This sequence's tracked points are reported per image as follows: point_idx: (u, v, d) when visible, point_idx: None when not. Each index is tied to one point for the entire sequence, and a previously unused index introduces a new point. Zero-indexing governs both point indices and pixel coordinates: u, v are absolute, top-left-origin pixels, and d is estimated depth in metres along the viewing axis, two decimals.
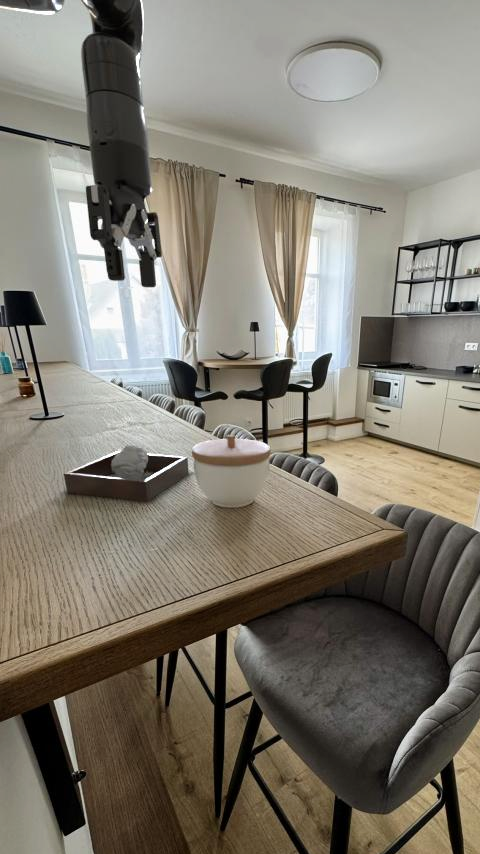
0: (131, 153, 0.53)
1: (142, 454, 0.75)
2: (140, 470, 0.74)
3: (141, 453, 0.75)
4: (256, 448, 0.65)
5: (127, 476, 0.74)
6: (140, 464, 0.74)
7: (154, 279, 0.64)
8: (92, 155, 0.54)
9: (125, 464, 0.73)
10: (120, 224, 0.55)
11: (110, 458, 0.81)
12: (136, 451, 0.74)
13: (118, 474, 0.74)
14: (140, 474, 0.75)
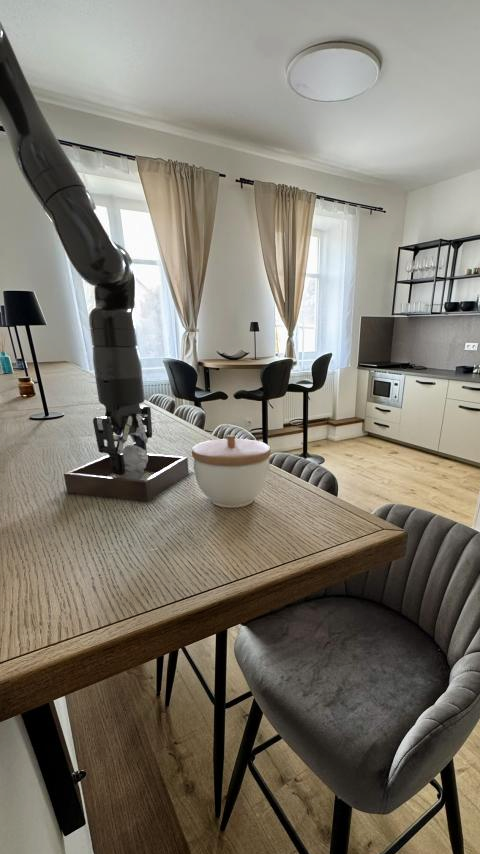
0: (128, 385, 0.68)
1: (142, 454, 0.75)
2: (140, 470, 0.74)
3: (141, 453, 0.75)
4: (256, 448, 0.65)
5: (127, 476, 0.74)
6: (140, 464, 0.74)
7: None
8: (97, 385, 0.68)
9: (125, 464, 0.73)
10: (120, 436, 0.70)
11: None
12: (136, 451, 0.74)
13: None
14: (140, 474, 0.75)
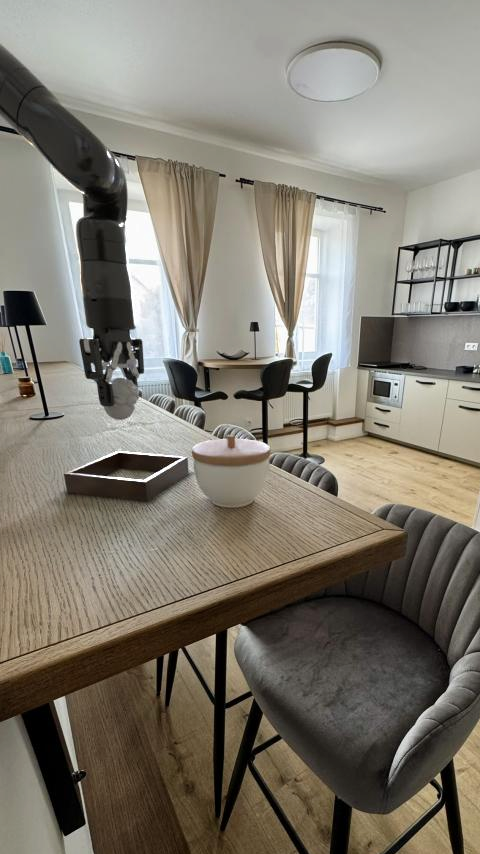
0: (117, 305, 0.63)
1: (133, 387, 0.71)
2: (130, 404, 0.70)
3: (132, 386, 0.70)
4: (256, 448, 0.65)
5: (116, 409, 0.69)
6: (130, 397, 0.69)
7: None
8: (85, 306, 0.64)
9: (114, 396, 0.68)
10: (109, 363, 0.65)
11: (110, 458, 0.81)
12: (126, 383, 0.70)
13: (106, 407, 0.69)
14: (130, 409, 0.71)
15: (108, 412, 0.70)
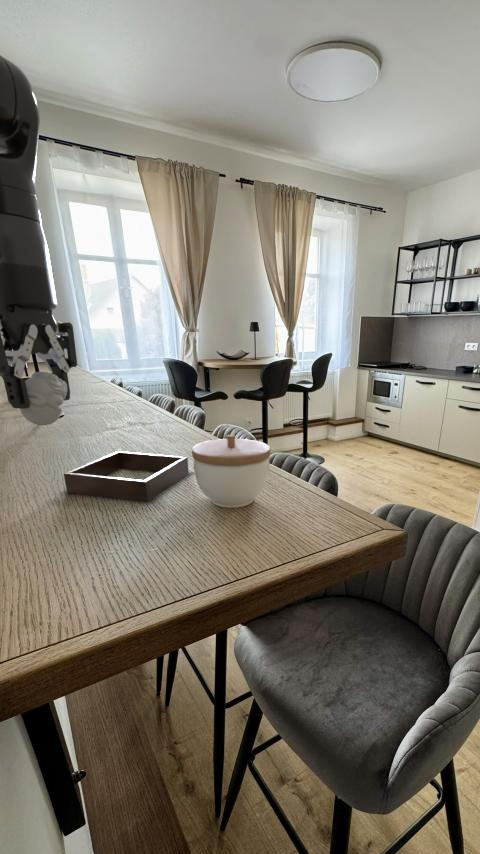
0: (24, 275, 0.48)
1: (58, 384, 0.55)
2: (53, 405, 0.54)
3: (56, 382, 0.55)
4: (256, 448, 0.65)
5: (34, 412, 0.54)
6: (53, 396, 0.54)
7: (67, 392, 0.59)
8: None
9: (30, 394, 0.53)
10: (19, 351, 0.50)
11: (110, 458, 0.81)
12: (48, 379, 0.54)
13: (22, 410, 0.54)
14: (55, 411, 0.55)
15: (25, 416, 0.54)
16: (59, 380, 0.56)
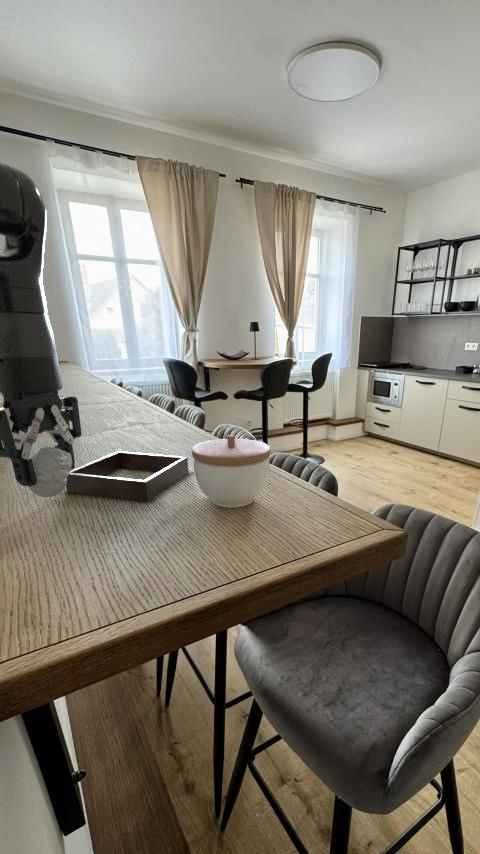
0: (32, 365, 0.50)
1: (63, 458, 0.58)
2: (59, 480, 0.57)
3: (61, 457, 0.57)
4: (256, 448, 0.65)
5: (41, 488, 0.56)
6: (58, 472, 0.56)
7: (72, 462, 0.61)
8: None
9: (37, 472, 0.55)
10: (26, 435, 0.52)
11: (110, 458, 0.81)
12: (54, 455, 0.57)
13: None
14: (60, 485, 0.57)
15: (32, 490, 0.57)
16: (64, 453, 0.59)
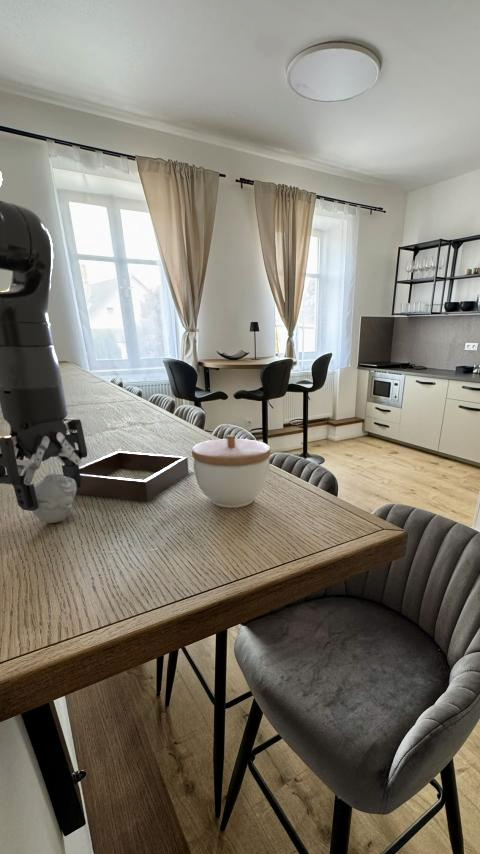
0: (38, 396, 0.52)
1: (68, 485, 0.59)
2: (64, 506, 0.58)
3: (66, 484, 0.59)
4: (256, 448, 0.65)
5: (46, 515, 0.57)
6: (63, 499, 0.58)
7: (78, 482, 0.63)
8: None
9: (43, 500, 0.57)
10: (30, 461, 0.53)
11: (110, 458, 0.81)
12: (59, 482, 0.58)
13: (35, 512, 0.58)
14: (65, 511, 0.59)
15: (38, 517, 0.58)
16: (69, 480, 0.60)
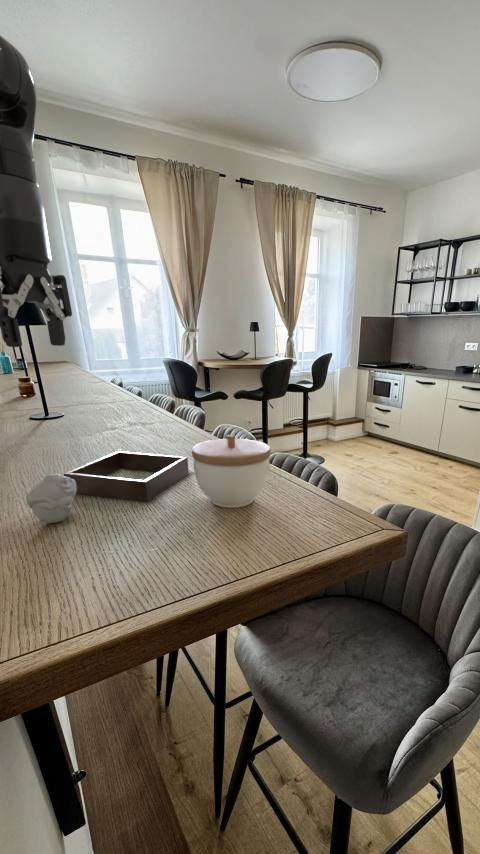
0: (22, 229, 0.55)
1: (68, 485, 0.59)
2: (64, 506, 0.58)
3: (66, 484, 0.59)
4: (256, 448, 0.65)
5: (46, 515, 0.57)
6: (63, 499, 0.58)
7: (62, 338, 0.66)
8: None
9: (43, 500, 0.57)
10: (14, 295, 0.57)
11: (110, 458, 0.81)
12: (59, 482, 0.58)
13: (35, 512, 0.58)
14: (65, 511, 0.59)
15: (38, 517, 0.58)
16: (69, 480, 0.60)
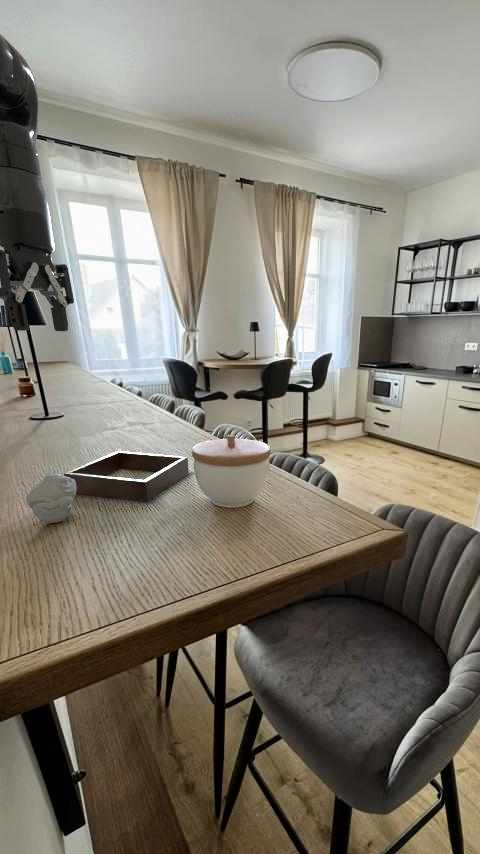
0: (28, 219, 0.59)
1: (68, 485, 0.59)
2: (64, 506, 0.58)
3: (66, 484, 0.59)
4: (256, 448, 0.65)
5: (46, 515, 0.57)
6: (63, 499, 0.58)
7: (65, 324, 0.70)
8: None
9: (43, 500, 0.57)
10: (21, 281, 0.61)
11: (110, 458, 0.81)
12: (59, 482, 0.58)
13: (35, 512, 0.58)
14: (65, 511, 0.59)
15: (38, 517, 0.58)
16: (69, 480, 0.60)
